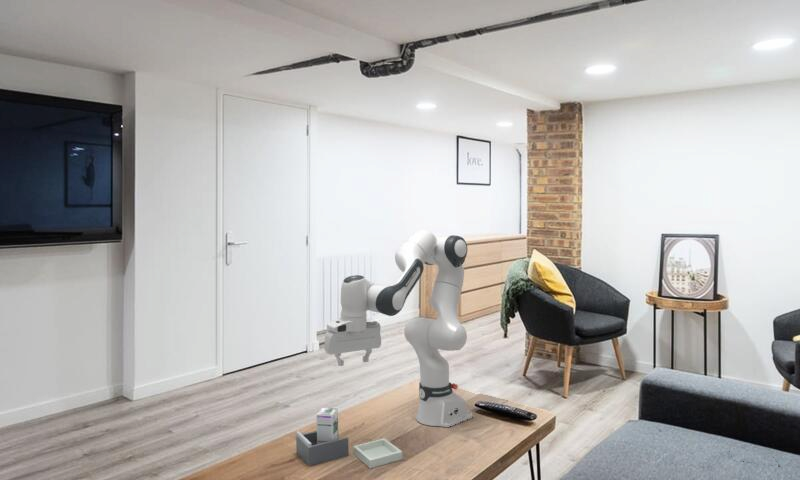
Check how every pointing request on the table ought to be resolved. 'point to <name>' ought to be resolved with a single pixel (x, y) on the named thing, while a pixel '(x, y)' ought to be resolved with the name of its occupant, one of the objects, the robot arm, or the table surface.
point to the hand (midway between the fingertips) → (353, 363)
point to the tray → (377, 453)
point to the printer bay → (319, 448)
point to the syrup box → (327, 425)
